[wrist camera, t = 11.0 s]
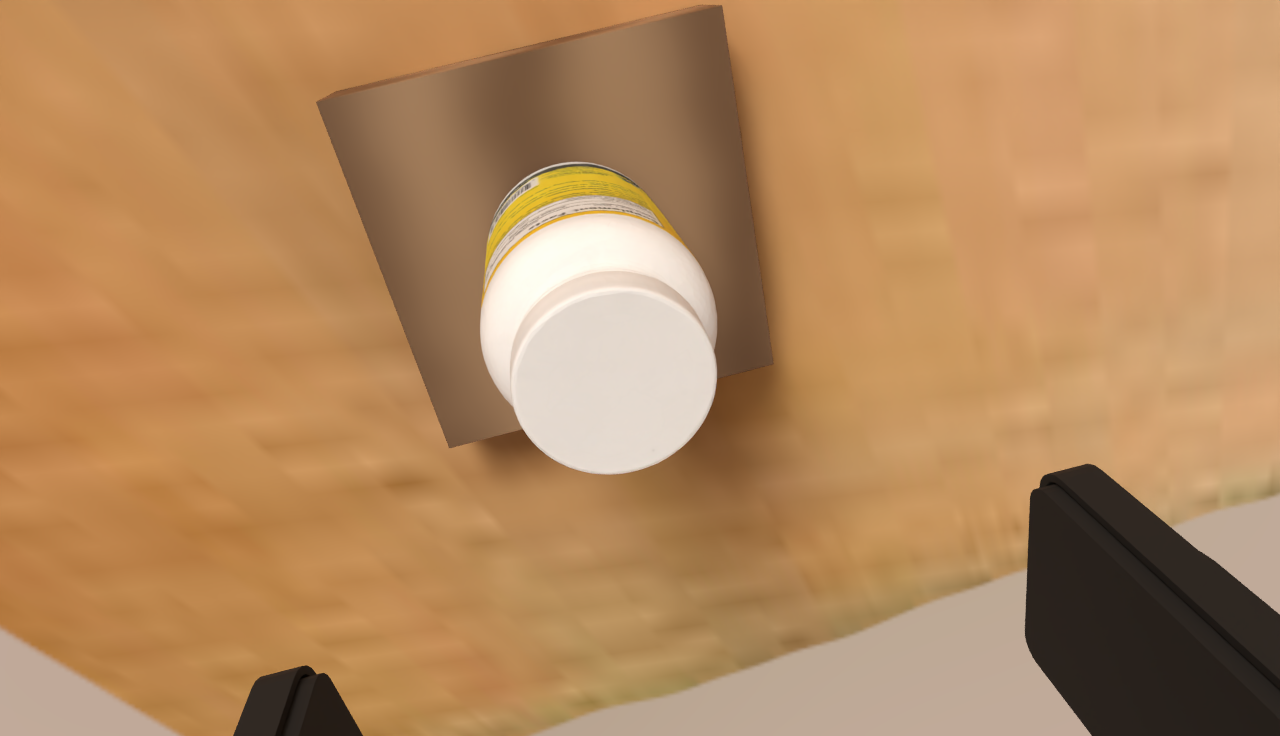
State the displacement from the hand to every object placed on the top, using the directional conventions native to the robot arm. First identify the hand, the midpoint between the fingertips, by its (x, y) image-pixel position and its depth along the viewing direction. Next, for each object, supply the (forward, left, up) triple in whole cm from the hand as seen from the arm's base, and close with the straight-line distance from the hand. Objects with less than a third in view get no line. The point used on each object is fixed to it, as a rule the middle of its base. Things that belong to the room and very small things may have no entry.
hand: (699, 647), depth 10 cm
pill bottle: (0, 0, -19) cm, 19 cm away
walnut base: (0, 0, -22) cm, 22 cm away
